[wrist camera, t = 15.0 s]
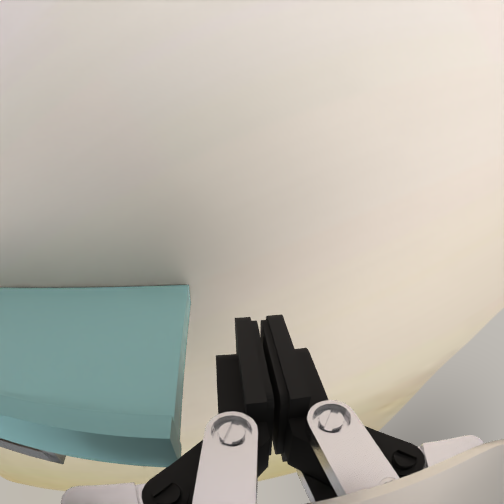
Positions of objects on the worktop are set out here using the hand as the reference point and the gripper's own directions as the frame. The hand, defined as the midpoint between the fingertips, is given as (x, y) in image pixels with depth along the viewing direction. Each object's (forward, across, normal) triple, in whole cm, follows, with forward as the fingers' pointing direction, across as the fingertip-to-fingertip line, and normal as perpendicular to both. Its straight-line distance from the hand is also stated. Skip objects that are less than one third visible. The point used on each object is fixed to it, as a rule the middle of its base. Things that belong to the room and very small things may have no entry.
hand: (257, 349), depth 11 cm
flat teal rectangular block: (+4, +10, 0) cm, 11 cm away
